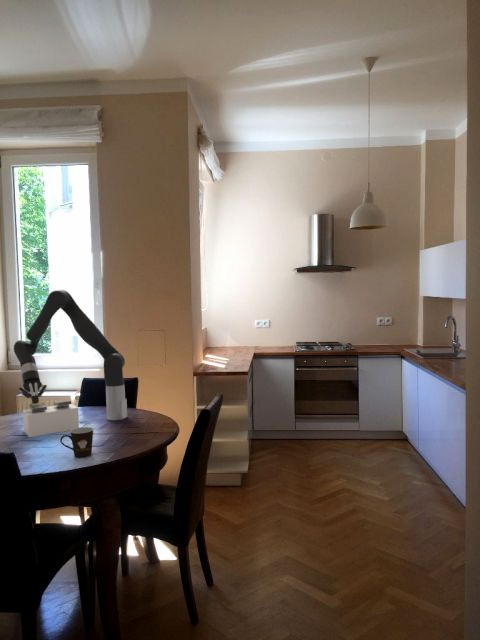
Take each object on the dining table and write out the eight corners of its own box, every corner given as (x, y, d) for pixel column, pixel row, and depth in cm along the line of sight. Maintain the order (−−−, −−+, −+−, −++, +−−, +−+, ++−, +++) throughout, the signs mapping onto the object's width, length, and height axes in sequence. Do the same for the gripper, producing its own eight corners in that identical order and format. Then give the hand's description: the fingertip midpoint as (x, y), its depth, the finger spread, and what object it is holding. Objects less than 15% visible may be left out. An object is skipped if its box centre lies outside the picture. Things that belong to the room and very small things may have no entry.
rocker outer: (42, 405, 224) (42, 402, 224) (46, 409, 218) (46, 406, 217) (29, 407, 221) (29, 404, 221) (32, 411, 214) (32, 408, 214)
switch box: (71, 423, 234) (71, 401, 233) (78, 428, 224) (77, 406, 224) (23, 431, 221) (22, 408, 221) (29, 437, 212) (27, 413, 211)
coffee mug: (97, 451, 189) (96, 427, 189) (89, 459, 181) (87, 433, 180) (70, 451, 190) (69, 427, 190) (59, 458, 182) (58, 433, 181)
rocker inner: (67, 403, 230) (66, 400, 230) (71, 404, 224) (71, 400, 224) (54, 405, 227) (53, 402, 227) (58, 406, 220) (57, 402, 220)
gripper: (16, 371, 226) (21, 401, 216) (45, 368, 233) (51, 397, 224) (14, 380, 230) (19, 410, 221) (43, 377, 238) (49, 406, 229)
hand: (36, 403), depth 222 cm, fingers closed
